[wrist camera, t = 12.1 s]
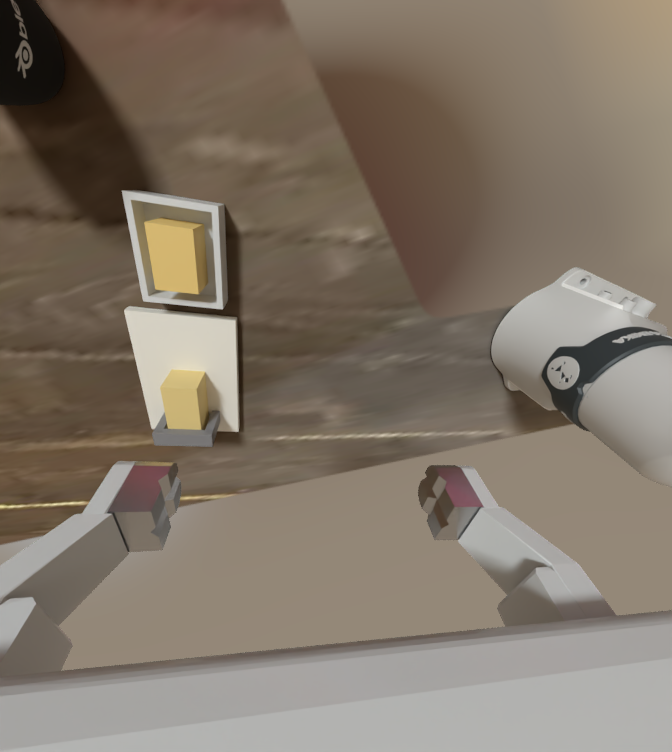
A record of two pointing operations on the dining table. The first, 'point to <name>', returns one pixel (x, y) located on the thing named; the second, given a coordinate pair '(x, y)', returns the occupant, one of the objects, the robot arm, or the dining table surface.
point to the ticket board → (187, 354)
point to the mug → (28, 54)
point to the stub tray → (185, 209)
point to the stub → (177, 255)
